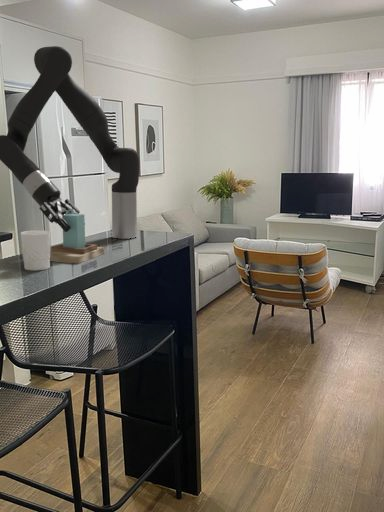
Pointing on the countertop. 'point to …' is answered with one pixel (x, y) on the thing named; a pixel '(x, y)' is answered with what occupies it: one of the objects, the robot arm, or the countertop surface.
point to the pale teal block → (74, 231)
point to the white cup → (36, 249)
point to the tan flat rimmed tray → (75, 253)
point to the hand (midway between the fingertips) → (76, 228)
